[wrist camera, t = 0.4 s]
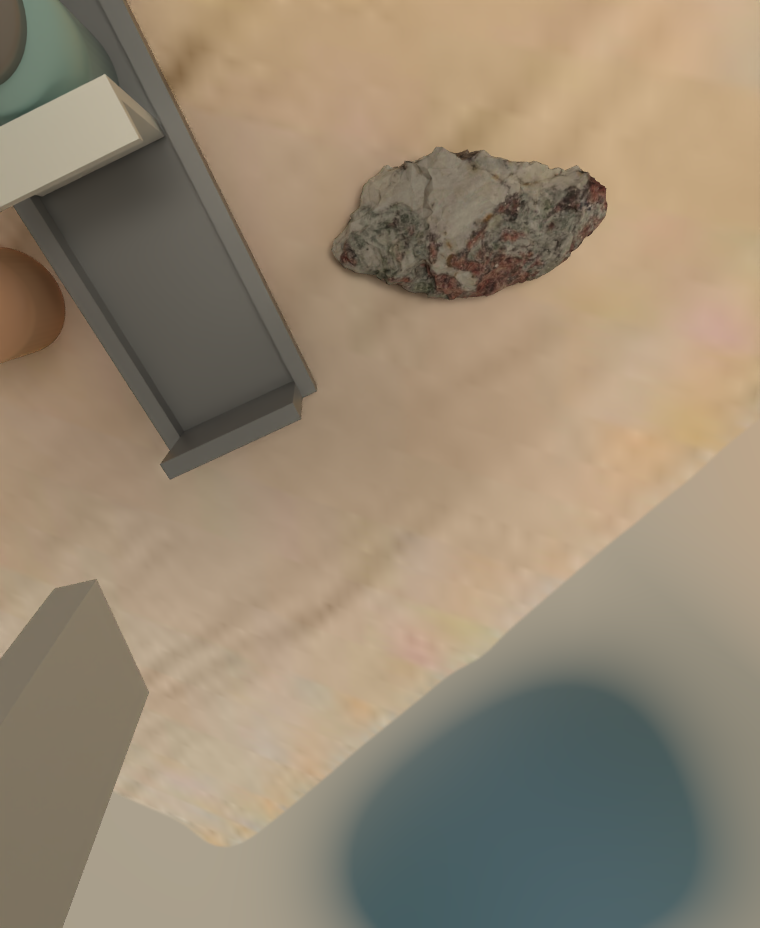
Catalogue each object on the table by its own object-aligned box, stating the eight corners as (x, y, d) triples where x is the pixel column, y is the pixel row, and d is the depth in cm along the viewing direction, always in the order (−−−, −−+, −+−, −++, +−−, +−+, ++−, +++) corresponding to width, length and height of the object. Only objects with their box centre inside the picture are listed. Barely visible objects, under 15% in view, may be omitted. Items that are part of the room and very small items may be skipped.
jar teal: (-33, 44, 27) (-219, -72, 17) (74, -11, 26) (-56, -158, 17) (43, 170, 29) (-84, 128, 19) (143, 121, 28) (61, 54, 19)
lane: (-78, 39, 27) (-193, -26, 21) (100, -52, 26) (36, -147, 20) (180, 448, 36) (153, 487, 30) (316, 384, 35) (317, 411, 29)
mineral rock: (331, 281, 33) (334, 285, 29) (347, 135, 31) (354, 116, 26) (552, 314, 36) (583, 322, 32) (585, 182, 33) (624, 172, 29)
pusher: (32, 181, 29) (-59, 155, 22) (156, 120, 28) (104, 74, 21) (60, 226, 30) (-18, 215, 22) (180, 167, 29) (139, 138, 22)
